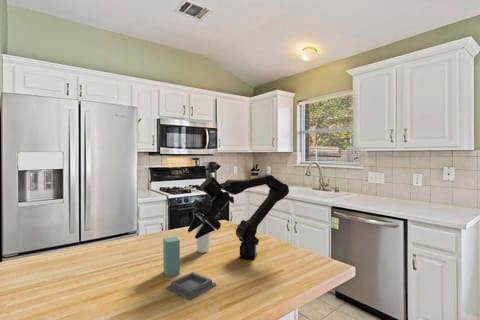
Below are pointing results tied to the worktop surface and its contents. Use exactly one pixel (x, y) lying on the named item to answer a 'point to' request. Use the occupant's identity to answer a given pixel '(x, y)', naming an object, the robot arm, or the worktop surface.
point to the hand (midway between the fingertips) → (191, 234)
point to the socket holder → (191, 285)
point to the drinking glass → (202, 241)
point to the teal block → (171, 256)
